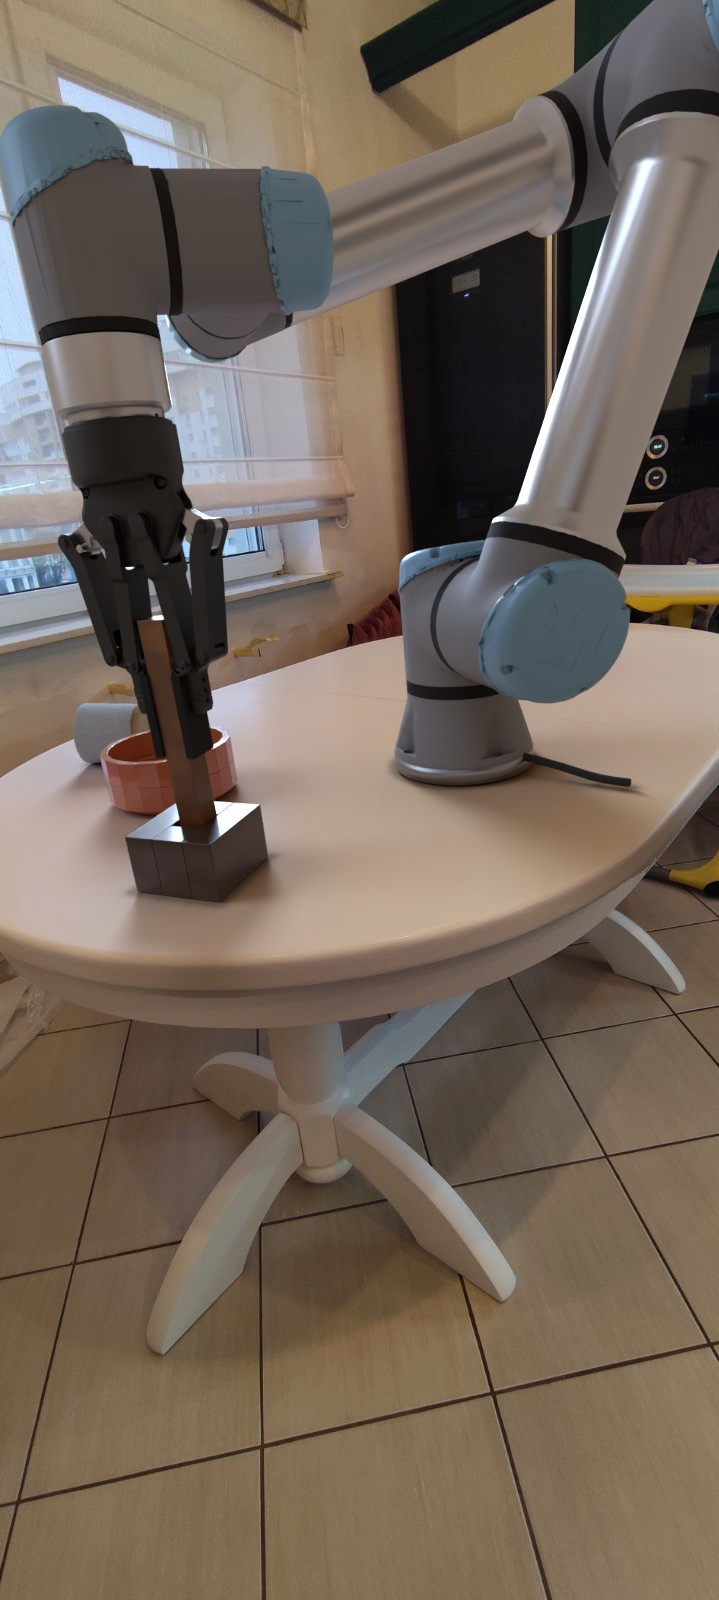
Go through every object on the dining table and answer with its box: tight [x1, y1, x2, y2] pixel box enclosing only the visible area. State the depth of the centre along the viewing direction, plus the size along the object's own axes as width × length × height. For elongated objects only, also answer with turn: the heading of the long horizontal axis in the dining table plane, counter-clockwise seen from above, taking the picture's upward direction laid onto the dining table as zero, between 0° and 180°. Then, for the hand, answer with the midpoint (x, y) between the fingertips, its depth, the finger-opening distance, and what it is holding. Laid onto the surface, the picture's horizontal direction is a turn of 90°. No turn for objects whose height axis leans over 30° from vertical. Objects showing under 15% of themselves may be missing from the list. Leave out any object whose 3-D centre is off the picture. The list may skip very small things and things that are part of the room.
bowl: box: [100, 724, 238, 815], centre depth 79 cm, size 14×14×6 cm
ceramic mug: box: [72, 702, 150, 764], centre depth 94 cm, size 11×8×8 cm
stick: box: [137, 615, 217, 829], centre depth 57 cm, size 2×2×18 cm
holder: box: [124, 800, 269, 903], centre depth 60 cm, size 8×8×5 cm
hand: (185, 752), depth 57 cm, fingers closed on stick, 2 cm apart
